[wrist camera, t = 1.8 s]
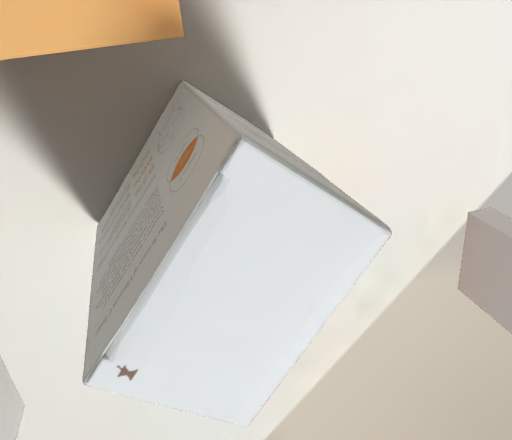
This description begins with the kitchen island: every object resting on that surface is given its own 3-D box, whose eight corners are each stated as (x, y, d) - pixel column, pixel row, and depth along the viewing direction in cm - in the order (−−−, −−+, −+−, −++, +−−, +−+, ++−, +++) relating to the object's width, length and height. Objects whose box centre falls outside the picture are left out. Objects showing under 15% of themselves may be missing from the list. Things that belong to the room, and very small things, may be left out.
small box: (195, 268, 23) (246, 436, 14) (93, 224, 20) (75, 394, 11) (280, 139, 21) (402, 233, 12) (181, 74, 19) (242, 132, 10)
